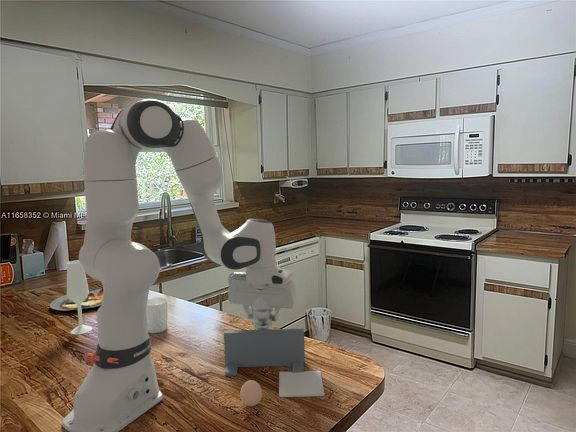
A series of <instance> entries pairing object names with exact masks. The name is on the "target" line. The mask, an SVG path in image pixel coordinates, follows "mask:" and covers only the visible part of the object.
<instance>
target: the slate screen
mask: <svg viewBox="0 0 576 432" xmlns="http://www.w3.org/2000/svg"><path fill="white" fill-rule="evenodd" d="M223 344H224V365H225V367H224V368H225V370H224V376H225V377H227V376H228V377H229V376H231V377H232V376H237V375H238V374H237V373H238V369H239V368H248V367H249V368H251V367H253V368H254V367H285V366H286V367H287V366H288V367H290V366H291V367H292V369H291V370H292V371H291V372H293V373H295V372H304V371H305V370H304V369H305V368H304V366H305V365H306V359H305V356H306V354H305V353H306V352H305V351H306V349H305V348H306V347H305V346H306V345H305V328H277V329H275V328H274V329H273V328H272V329H269V330H254V329H239V330H236V329H235V330H224V331H223Z"/></svg>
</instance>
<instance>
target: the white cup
mask: <svg viewBox="0 0 576 432" xmlns="http://www.w3.org/2000/svg"><path fill="white" fill-rule="evenodd" d="M168 313H169V311H168V299H167V298H166V297H163V296H161V297H160V296H158V297H150V298H148V299H147V329H148V334H150V333H151V334H157V333H162V332H165V331H166V330H168Z"/></svg>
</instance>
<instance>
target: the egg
mask: <svg viewBox="0 0 576 432" xmlns="http://www.w3.org/2000/svg"><path fill="white" fill-rule="evenodd" d="M262 389H263V388H262V387H261V385H260V384H259V382H257V380H253V379H252V380H251V379H249V380H247V381H246V382H244V383H243V384H242V386H241V388H240V391H239V396H240V401H241V402H242V403H243V405H245V406H247V407H255V406H256V405H258V404H259V403H260V402H261V400H262V397H263V391H262Z"/></svg>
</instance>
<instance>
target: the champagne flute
mask: <svg viewBox="0 0 576 432" xmlns="http://www.w3.org/2000/svg"><path fill="white" fill-rule="evenodd" d="M86 274H87V273H86V272H85V271H84V269H83V268H82V267H81V265H80V263H79V259H78V260H71V261H68V262H66V295H67V297H68V298H69V299H70V300H71V301H73V302H74V303H77V308H78V310H77V317H78V326H76V327H75V328H73V329H72V330H70V334H72V335H82V334H86V333H88V332H91V331H92V330H93V327H92V326H89V325H86V324H84V322H83V321H84V320H83V313H82V310H83V309H81V302H83V301H84V300H85V299H86V298H87V296H88V294H89V290H90V289H89V285H88V279H87V275H86Z"/></svg>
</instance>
